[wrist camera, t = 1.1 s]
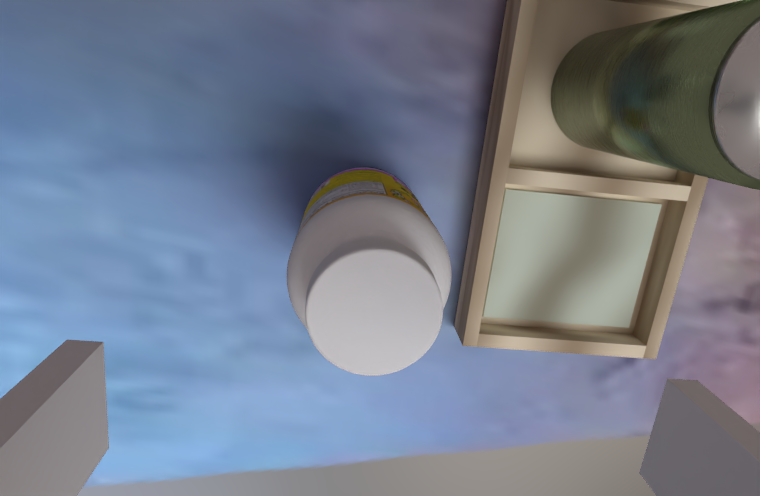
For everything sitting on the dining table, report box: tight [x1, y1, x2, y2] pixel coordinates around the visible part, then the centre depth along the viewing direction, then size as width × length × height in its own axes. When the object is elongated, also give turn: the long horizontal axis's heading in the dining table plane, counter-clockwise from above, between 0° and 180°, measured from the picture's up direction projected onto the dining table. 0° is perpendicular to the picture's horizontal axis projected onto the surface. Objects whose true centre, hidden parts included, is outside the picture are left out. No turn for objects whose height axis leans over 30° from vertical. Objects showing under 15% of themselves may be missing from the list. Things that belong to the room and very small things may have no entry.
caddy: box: [454, 0, 741, 359], centre depth 27 cm, size 12×29×2 cm, turn 174°
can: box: [551, 0, 760, 190], centre depth 21 cm, size 6×6×12 cm
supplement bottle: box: [287, 168, 451, 376], centre depth 23 cm, size 7×7×13 cm
